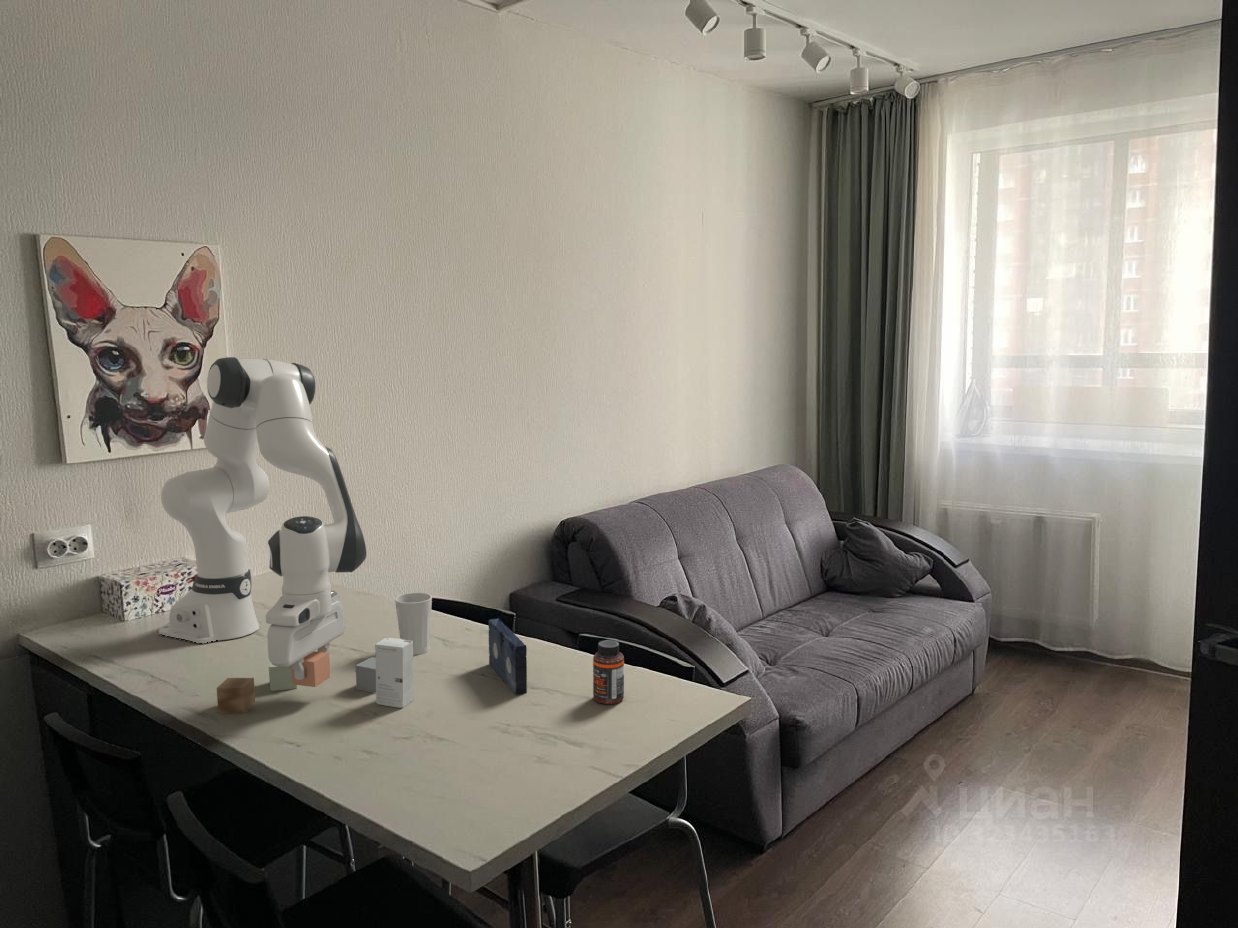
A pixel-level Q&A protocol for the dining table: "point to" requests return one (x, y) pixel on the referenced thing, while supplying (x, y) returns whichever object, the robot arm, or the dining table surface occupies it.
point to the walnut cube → (236, 695)
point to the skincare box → (394, 672)
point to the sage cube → (280, 678)
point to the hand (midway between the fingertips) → (311, 672)
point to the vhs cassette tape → (508, 656)
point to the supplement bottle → (608, 673)
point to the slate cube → (366, 675)
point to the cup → (415, 619)
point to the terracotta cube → (314, 669)
